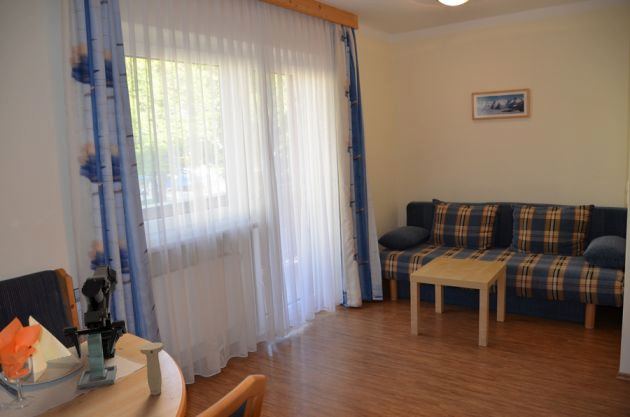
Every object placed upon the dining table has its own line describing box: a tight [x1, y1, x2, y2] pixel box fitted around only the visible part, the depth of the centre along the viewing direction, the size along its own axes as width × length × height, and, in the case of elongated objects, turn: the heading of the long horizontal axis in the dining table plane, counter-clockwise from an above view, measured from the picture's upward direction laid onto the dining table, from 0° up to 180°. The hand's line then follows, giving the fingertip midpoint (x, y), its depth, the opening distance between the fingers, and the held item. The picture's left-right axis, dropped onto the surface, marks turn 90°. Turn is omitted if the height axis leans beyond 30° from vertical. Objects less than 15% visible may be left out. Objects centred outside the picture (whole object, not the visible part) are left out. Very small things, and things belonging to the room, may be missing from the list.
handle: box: [139, 342, 164, 396], centre depth 151 cm, size 5×6×15 cm
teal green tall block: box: [86, 333, 108, 382], centre depth 161 cm, size 5×5×14 cm
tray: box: [77, 364, 118, 390], centre depth 162 cm, size 10×10×2 cm
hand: (95, 355), depth 160 cm, fingers open, 9 cm apart
